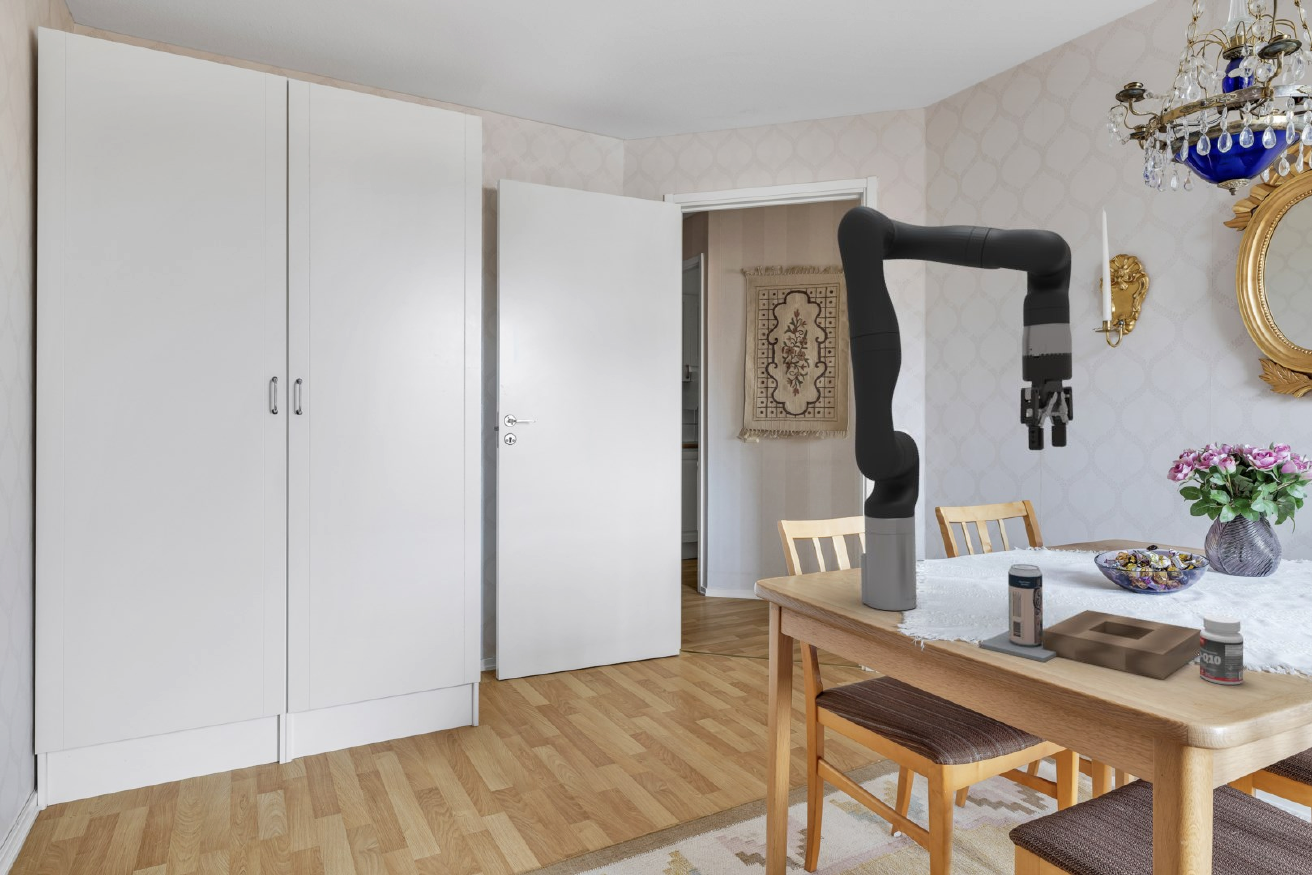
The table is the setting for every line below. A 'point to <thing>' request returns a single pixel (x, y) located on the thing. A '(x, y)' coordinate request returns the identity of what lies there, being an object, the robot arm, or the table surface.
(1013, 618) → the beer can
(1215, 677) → the pill bottle
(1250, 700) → the table surface
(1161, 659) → the block
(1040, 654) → the mat
